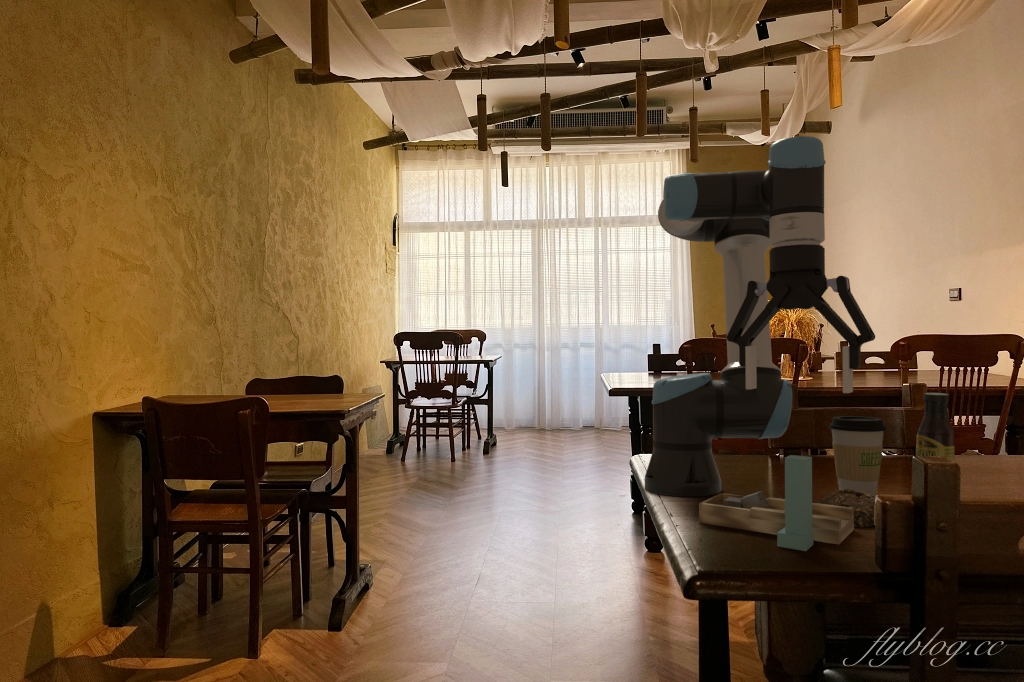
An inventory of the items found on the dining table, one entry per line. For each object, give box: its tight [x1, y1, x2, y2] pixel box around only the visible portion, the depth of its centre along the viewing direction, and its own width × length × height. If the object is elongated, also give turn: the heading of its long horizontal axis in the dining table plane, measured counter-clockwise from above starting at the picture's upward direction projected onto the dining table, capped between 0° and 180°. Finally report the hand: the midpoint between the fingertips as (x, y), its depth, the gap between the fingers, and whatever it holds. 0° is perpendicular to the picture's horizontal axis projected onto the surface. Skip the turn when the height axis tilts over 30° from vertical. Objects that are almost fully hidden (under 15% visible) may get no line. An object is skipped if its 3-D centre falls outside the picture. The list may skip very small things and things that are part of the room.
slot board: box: [698, 492, 855, 545], centre depth 114 cm, size 22×10×4 cm, turn 53°
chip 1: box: [724, 497, 744, 508], centre depth 117 cm, size 3×3×3 cm
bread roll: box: [816, 489, 875, 528], centre depth 119 cm, size 13×12×5 cm
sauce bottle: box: [915, 392, 956, 462], centre depth 133 cm, size 6×6×20 cm
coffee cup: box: [828, 415, 887, 497], centre depth 134 cm, size 10×10×15 cm
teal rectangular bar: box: [776, 454, 814, 552], centre depth 103 cm, size 4×4×13 cm
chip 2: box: [740, 490, 770, 509], centre depth 115 cm, size 3×3×3 cm
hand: (797, 390), depth 103 cm, fingers open, 13 cm apart
